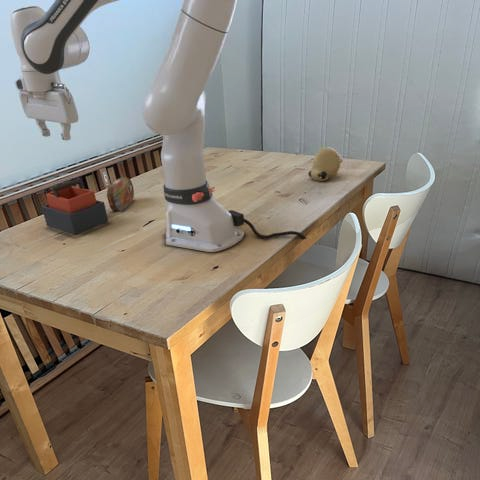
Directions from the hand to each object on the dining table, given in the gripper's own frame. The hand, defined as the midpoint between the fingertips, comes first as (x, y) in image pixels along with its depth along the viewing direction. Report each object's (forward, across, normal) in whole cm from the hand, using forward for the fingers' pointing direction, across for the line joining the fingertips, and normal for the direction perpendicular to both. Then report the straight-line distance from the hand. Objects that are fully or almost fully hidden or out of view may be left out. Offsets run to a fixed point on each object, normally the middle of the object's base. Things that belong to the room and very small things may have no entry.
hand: (56, 138), depth 132 cm
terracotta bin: (+25, 0, 0) cm, 25 cm away
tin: (+26, +1, -18) cm, 32 cm away
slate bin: (+26, 0, 0) cm, 26 cm away
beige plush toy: (+25, -42, -75) cm, 89 cm away
